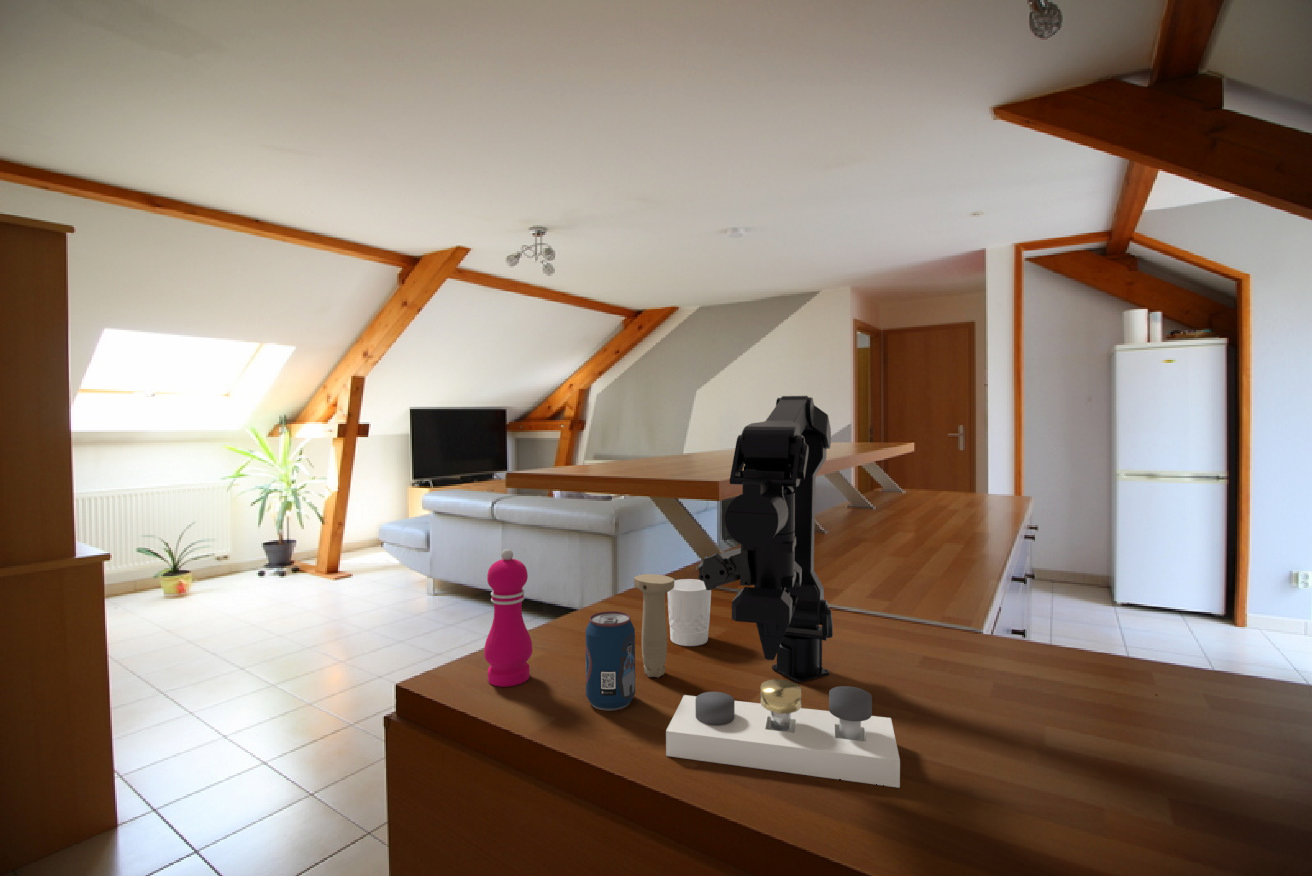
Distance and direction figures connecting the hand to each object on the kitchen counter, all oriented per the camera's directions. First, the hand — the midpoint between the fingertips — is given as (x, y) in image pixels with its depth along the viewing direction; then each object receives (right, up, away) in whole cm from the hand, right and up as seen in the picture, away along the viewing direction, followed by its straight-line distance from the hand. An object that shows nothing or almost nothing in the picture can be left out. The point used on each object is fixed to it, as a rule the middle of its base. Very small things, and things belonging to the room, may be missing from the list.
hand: (769, 658), depth 77 cm
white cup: (-8, -10, +38) cm, 40 cm away
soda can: (-20, -11, +13) cm, 26 cm away
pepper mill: (-36, -10, +21) cm, 43 cm away
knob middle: (+1, -8, 0) cm, 8 cm away
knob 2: (+9, -8, -2) cm, 12 cm away
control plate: (+1, -11, 0) cm, 11 cm away
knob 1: (-6, -10, +2) cm, 12 cm away
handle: (-14, -10, +22) cm, 28 cm away
